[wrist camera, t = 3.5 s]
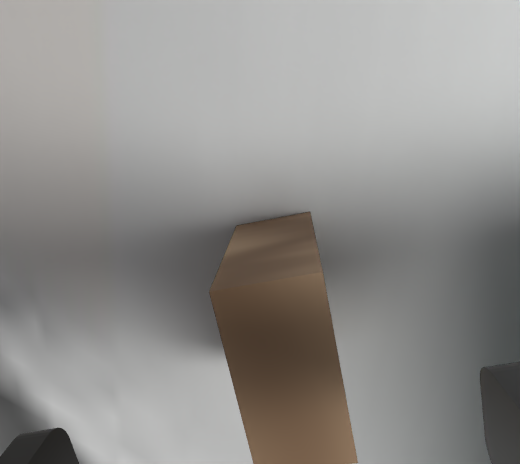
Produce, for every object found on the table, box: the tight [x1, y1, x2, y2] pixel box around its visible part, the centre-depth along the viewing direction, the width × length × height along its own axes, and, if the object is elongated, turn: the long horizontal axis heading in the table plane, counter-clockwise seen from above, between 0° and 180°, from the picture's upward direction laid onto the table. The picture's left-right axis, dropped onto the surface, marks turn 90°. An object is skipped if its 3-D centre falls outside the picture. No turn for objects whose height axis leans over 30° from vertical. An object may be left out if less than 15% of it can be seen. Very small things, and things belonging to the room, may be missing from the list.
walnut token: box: [209, 212, 358, 464], centre depth 13 cm, size 2×5×6 cm, turn 12°
